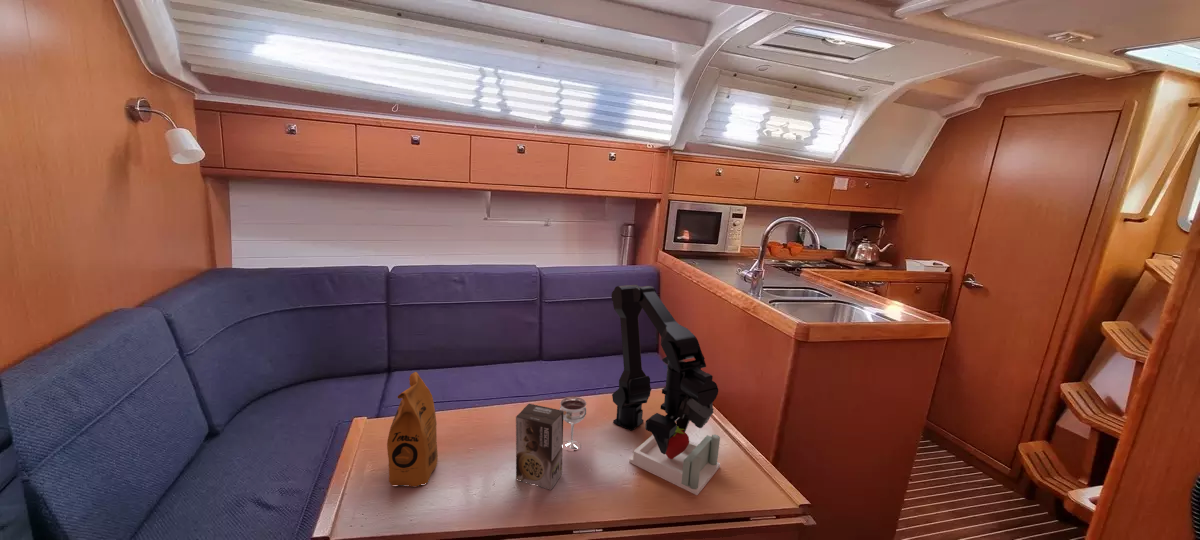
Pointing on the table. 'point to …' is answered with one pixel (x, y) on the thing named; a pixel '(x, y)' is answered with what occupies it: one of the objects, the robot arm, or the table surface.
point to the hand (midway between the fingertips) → (672, 444)
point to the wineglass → (573, 415)
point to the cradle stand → (681, 463)
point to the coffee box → (539, 445)
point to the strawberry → (677, 443)
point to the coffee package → (413, 436)
